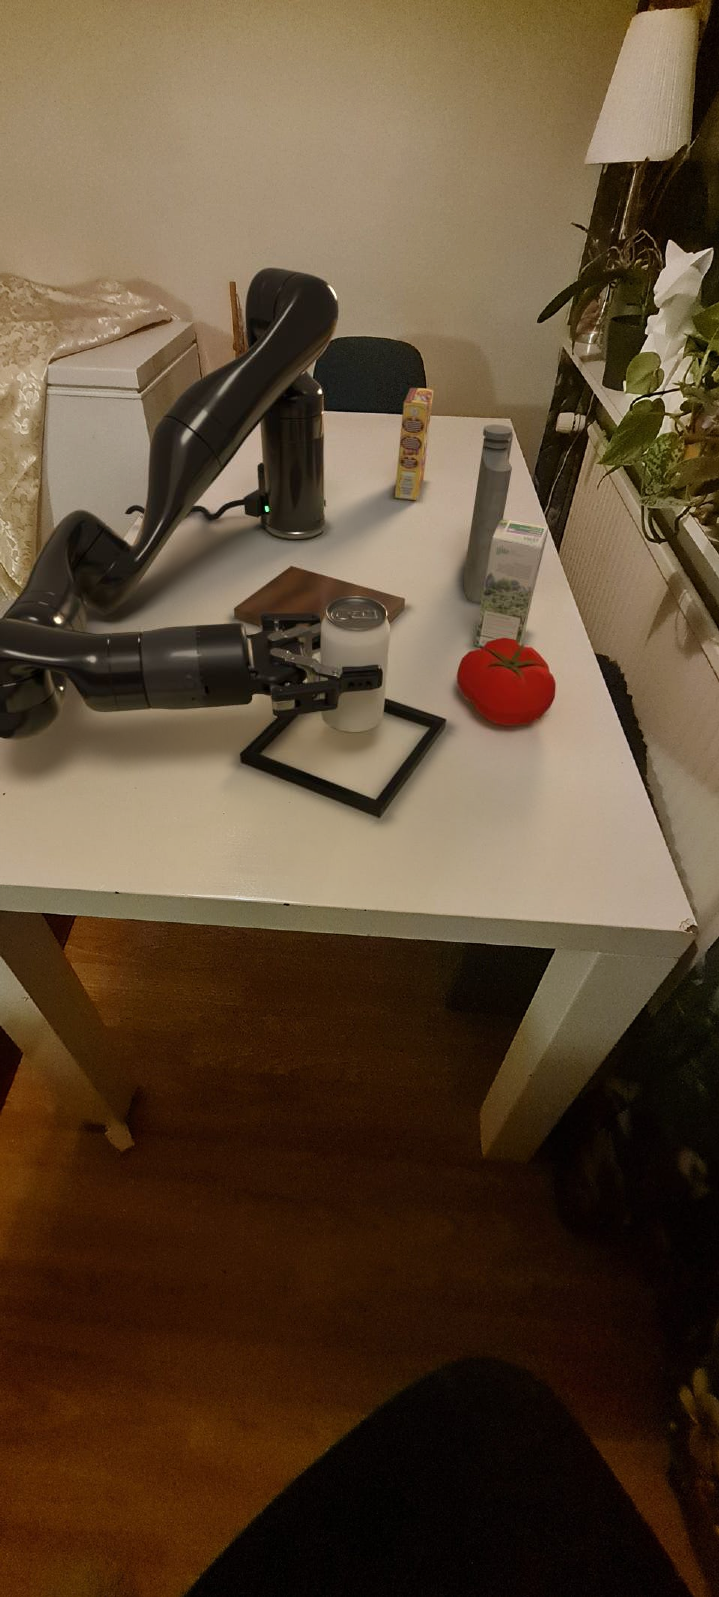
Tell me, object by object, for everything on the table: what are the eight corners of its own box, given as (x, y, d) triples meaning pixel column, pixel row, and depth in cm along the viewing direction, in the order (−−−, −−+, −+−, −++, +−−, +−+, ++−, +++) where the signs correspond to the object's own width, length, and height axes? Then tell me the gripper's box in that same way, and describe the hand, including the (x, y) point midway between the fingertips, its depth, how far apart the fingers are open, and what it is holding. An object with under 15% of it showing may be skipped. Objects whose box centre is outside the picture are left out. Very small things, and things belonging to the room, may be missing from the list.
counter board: (234, 618, 92) (233, 608, 91) (291, 575, 101) (291, 565, 100) (355, 657, 87) (355, 647, 86) (404, 608, 96) (405, 598, 95)
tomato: (489, 744, 76) (500, 694, 71) (441, 687, 83) (448, 639, 78) (565, 723, 79) (580, 674, 74) (512, 671, 86) (522, 623, 81)
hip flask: (488, 604, 97) (515, 450, 83) (459, 600, 98) (481, 447, 84) (492, 553, 109) (516, 410, 95) (465, 550, 109) (486, 407, 95)
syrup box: (525, 633, 92) (550, 523, 82) (517, 657, 88) (542, 544, 78) (482, 624, 93) (501, 515, 83) (472, 647, 89) (491, 535, 79)
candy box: (418, 501, 122) (427, 403, 111) (394, 498, 123) (400, 401, 112) (425, 482, 128) (434, 388, 118) (401, 480, 129) (408, 386, 118)
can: (319, 695, 75) (319, 593, 66) (379, 694, 75) (387, 593, 66) (321, 736, 70) (322, 632, 61) (386, 734, 71) (396, 631, 62)
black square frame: (240, 762, 72) (239, 753, 71) (319, 683, 83) (319, 675, 82) (379, 818, 67) (380, 809, 66) (445, 727, 77) (446, 718, 77)
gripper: (201, 658, 73) (360, 647, 75) (204, 748, 63) (387, 733, 65) (191, 591, 68) (363, 582, 70) (193, 678, 58) (393, 664, 60)
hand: (374, 655), depth 68 cm, fingers closed on can, 6 cm apart
